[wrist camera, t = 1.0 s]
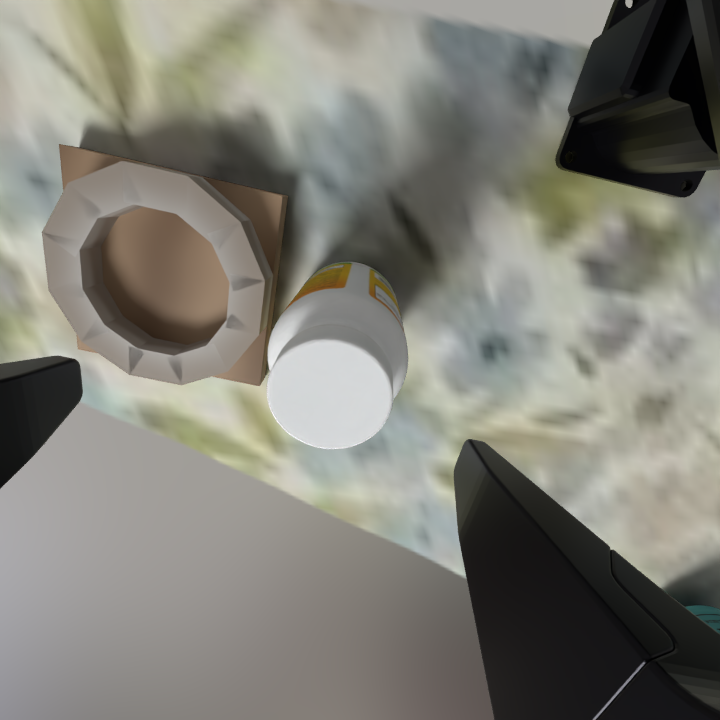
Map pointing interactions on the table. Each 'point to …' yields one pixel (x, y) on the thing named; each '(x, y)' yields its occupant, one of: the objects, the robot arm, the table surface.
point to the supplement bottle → (337, 357)
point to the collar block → (165, 267)
